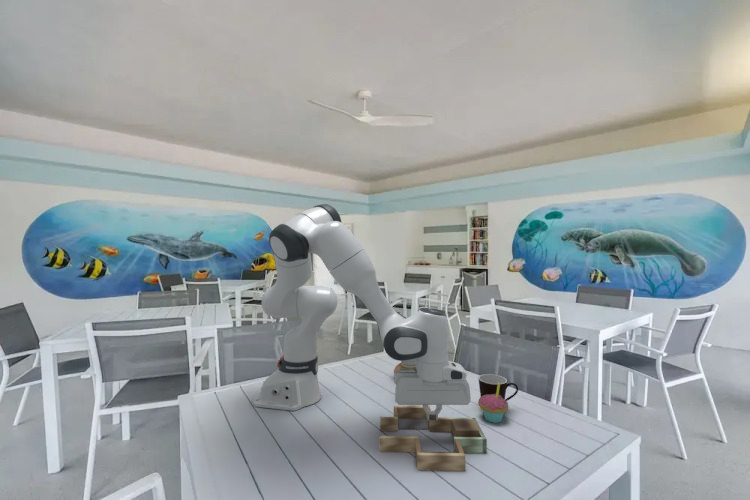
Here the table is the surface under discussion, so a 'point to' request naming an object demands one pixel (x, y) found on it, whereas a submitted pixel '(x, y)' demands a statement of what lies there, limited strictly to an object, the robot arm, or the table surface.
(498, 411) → the cupcake
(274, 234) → the robot arm
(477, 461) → the table surface
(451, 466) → the box
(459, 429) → the block
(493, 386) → the coffee mug
